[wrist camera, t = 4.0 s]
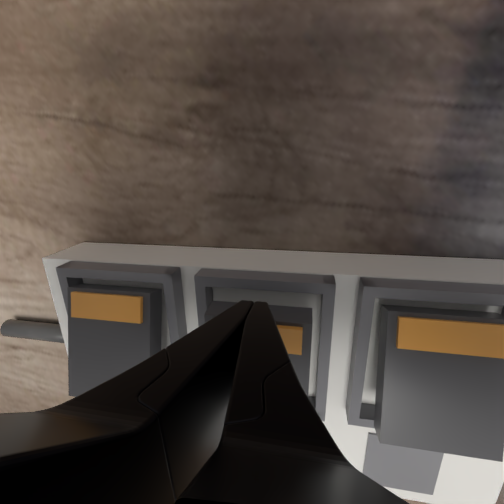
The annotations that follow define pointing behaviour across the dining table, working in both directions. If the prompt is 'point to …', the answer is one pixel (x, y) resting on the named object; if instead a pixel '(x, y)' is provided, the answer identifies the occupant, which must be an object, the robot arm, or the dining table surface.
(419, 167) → the dining table surface
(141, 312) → the rocker
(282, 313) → the rocker middle
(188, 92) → the dining table surface
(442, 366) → the rocker
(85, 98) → the dining table surface
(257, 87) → the dining table surface
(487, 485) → the power strip
